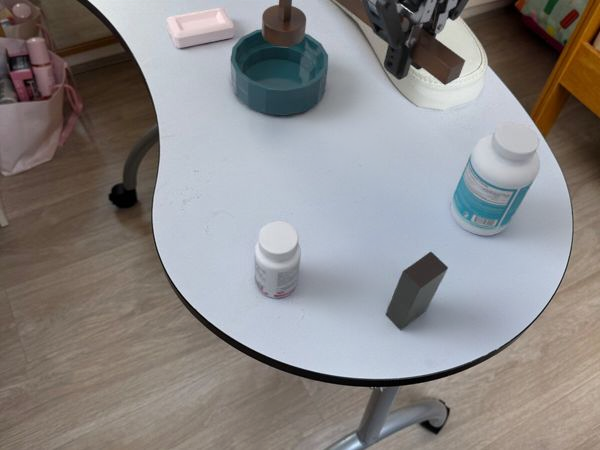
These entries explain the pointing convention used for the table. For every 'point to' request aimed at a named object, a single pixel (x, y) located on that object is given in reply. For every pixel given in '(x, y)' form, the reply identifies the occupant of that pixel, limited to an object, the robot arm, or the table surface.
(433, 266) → the dark grey rubber eraser
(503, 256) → the table surface
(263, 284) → the pill bottle
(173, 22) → the soap bar
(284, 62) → the bowl
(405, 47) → the robot arm
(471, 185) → the pill bottle
